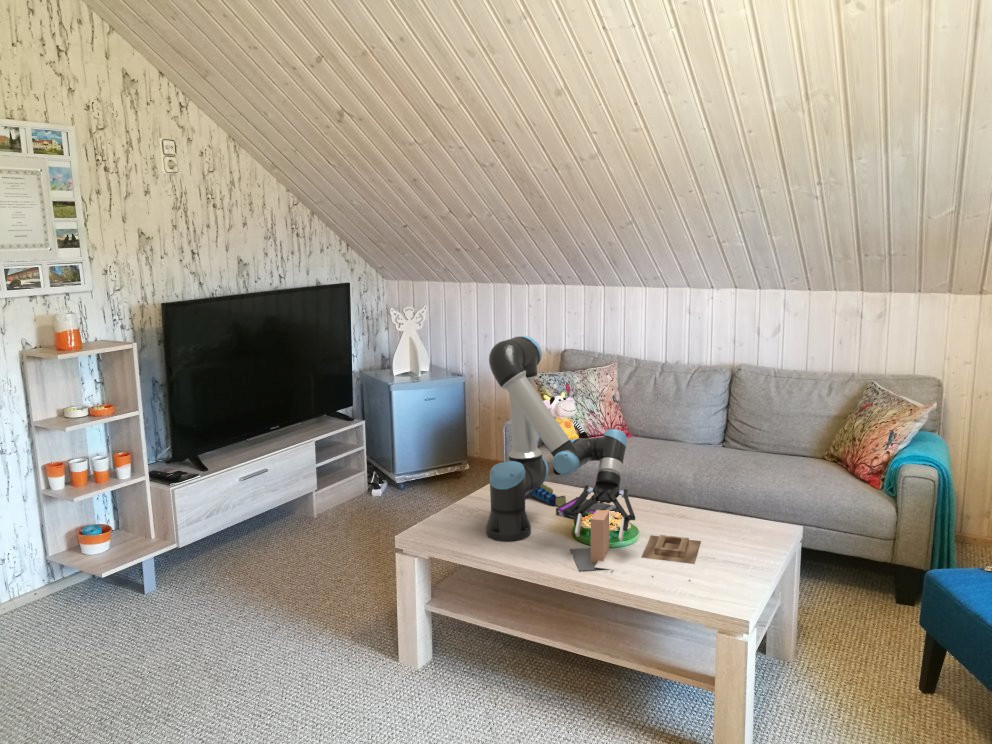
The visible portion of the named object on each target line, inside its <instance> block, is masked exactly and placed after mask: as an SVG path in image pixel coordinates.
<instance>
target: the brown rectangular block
mask: <svg viewBox="0 0 992 744" xmlns="http://www.w3.org/2000/svg"><path fill="white" fill-rule="evenodd" d="M590 548H591V562H593V563H597V564H598V563H599V562H598V561H604V560H605V558H607V555H608V553H609V552H610V523H609V511H603V510H596V512H595V513H594V515H593V516H592V518H591V524H590Z"/></svg>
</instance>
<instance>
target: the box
mask: <svg viewBox="0 0 992 744" xmlns="http://www.w3.org/2000/svg"><path fill="white" fill-rule="evenodd" d="M578 498H579V496H577V497H575V498H573V499H571V500H569V501H567V502H566V504H564V505H562V506H560V507H558V506H557V507H556V509H555V515H556V516H557V517H562V518H566V519H570V520H574V518H575V514H572V512H571V510H570V508H571V507H572V505H573V504H574V503H575V501H576V500H577V499H578ZM588 500H589V498H588V499H587V498H586V499H585V501H584V502H583V503H582V505H583V504H584V503H585V502H586V501H588ZM582 505H581V506H582ZM596 510H609V511H615V512H619V510H618V509H617V507H616V506H615V505H614V504H613V505H612V504H610V503H606V502H604V503H600V502H599V501H598V502H597V503H596V504H594V505H592V506H591V507H590V508H589V509H588V510H586V511H585V512H584V513H583V514H582V517H585V516H588V515H590V514H593V513H595V512H596ZM619 513H620V512H619Z"/></svg>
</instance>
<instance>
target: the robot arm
mask: <svg viewBox="0 0 992 744" xmlns="http://www.w3.org/2000/svg"><path fill="white" fill-rule="evenodd" d="M542 353H543V352H542V349H541V346H540V343H538V342H537V341H536V340H535V339H534V338H532V337H531V336H527V335H520V336H514V337H512V338H509V339H506V340H501V341H499V342H498V343H496V344H494V346H493V347H492V348H491V350H490V353H489V357H488V363H489V368H490V370H491V373H492V375H493V377H494V379H495V381H496V382H497V384H498V385H499V386H500V388H501V389H502V390H506V391H507V393H508V396H509V397H508V398H509V413H510V415H509V416H510V428H511V430H510V431H511V443H512V444H511V445H512V450H511V451H510V452H509V453H508V460H507V461H503V462H499V463H496V464H494V465H493V466H492V467H491V469H490V471H489V492H490V495H489V497H490V513H489V516H488V519H487V523H486V527H485V532H486V533H485V534H486V535H488V536H489V538H490V539H493V540H495V541H500V542H502V541H503V542H515V541H519V540H524V539H526V538H528V537H530V535H531V533H532V525H531V523H530V519H529V517H528V514H527V511H526V497H525V495H527V494H528V493H530V492H531V491H533V490H535V489H537V488H539V487H540V486H541V485H542V484H544V483H545V482H546V480H547V478H548V476H549V465H548V463H547V461H546V460H545V459H544V457H543V451H541V450H540V449H539V448H538V438H537V435H538V437H539V438H540V439H541V441H542V442H543V444H544V445H545V447H546V448H547V449H548V451H549V452H550V454H551V455H552V457H553V458H552V466H553V468H554V470H555V472H557V473H558V474H560V475H561V476H562V475H563V476H567V475H570V474H572V473H575V472H576V471H578V470H579V468H581V467H583V466H584V465H586V464H587V463H588V462H596V461H598V462H599V463H598V469H597V473H596V479H595V485H594V486H593V487H591V486H589V485H588V484H587V485H585V486H584V488H583V491H582V492H581V494H580V495H579V496H578V497H579V498H578V499H577V500H576V501H575V503H574V504H573V505H572V507H571V508H570V510H571V512H572V514H575V518H574V519H573V523H574V526H575V529H574V534H575V536H576V537H578V538H579V537H580V534H581V533H580V532H581V526H582V523H583V522H582V514H583V513H584V512H585V511H586V510H588V509H589V508H590V507H591V506H592V505H594V504H596V503H597V502H600V503H605V504H611V503H613V506H616V507H617V509H618V510H619V512H620V513H621V515H622V516H621V517H622V518H621V521H620V528H619V532H618V533H619V534H618V540H619V542H620V543H622V542H623V540H624V533H625V532H627V531H628V529H629V523H630V521H635V520H636V516H635V513H634V510H633V507H632V505H631V501H630V499H629V495H630V494H629V491H628V489H626V488H624V489H622V490H620V486H621V480H622V479H621V477H622V474H623V467H624V459H625V454H626V449H627V437H628V436H627V435H626V433H624V432H623V431H622V430H619V429H616V428H613V429H612V428H609V429H608V430H606V431H605V432H604V434H603V437H590V438H589V437H588V438H581V437H579V438H575V439H570V438H569V436H568V435H567V434H566V432H565V430H563V428H562V426H561V425H560V424H559V422H558V421H557V419H556V418H555V416H554V415H553V413H552V412H551V410H550V409H549V407H548V406H547V405H546V403H545V402H544V401H543V399H542V397H541V396H540V395H539V394H538V392H537V390H536V389H535V388H534V380H535V379H536V378H537V377H538V365H539V364H540V362H541V360H542V358H543V357H542V355H543V354H542ZM591 493H593V494H592V495H591ZM528 495H529V494H528ZM528 495H527V496H528ZM589 495H591V497H590V498H588V496H589ZM619 496H621V498H623V499H624V502H625V505H626V507H627V510H628V513H629V514H628V513H627V512H626V510H625V509H624V508H623V506H622V504H621V503H620V502H619V500H618V499H617V498H618V497H619ZM587 498H588V501H586V502H585V503H584V504H583V505H582V503H583V502H584V501H585V499H587ZM581 505H582V506H581ZM488 536H487V537H488Z"/></svg>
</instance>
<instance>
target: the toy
mask: <svg viewBox="0 0 992 744" xmlns="http://www.w3.org/2000/svg"><path fill="white" fill-rule="evenodd" d="M528 495H529V496H532V497H535V498H537V499H539V500H541V501H543V502H545V503H547V504H549V505H552V506H556V507H557V508H558V507H560V506H562V505H564V504H566V503H567V498H566V495H560V496H557V495H556V494H555V493H554V489H553V488H552V487H550V486H548V485H547V484H544V483H543V484H542V485H541V486H540V487H539V488H537V489H535V490H533V491H531V492H530V493H528V494H527V495H525V498H526V497H527V496H528Z"/></svg>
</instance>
